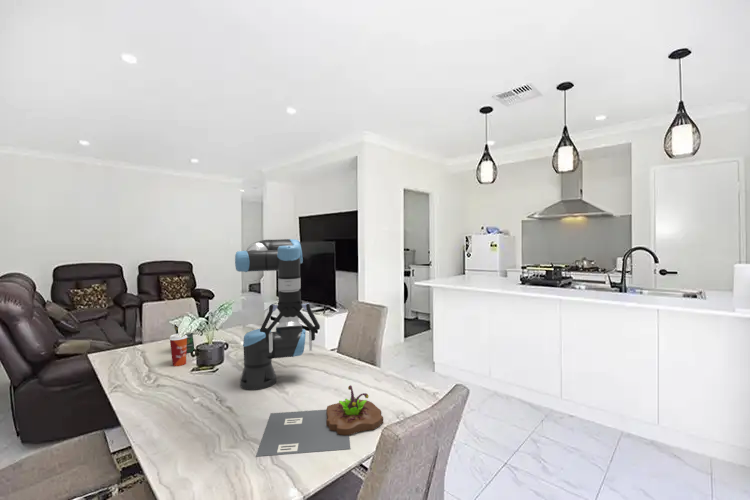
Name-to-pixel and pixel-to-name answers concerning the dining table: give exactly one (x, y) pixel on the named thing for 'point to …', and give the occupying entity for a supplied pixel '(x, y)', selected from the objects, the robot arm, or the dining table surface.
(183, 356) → the coffee cup
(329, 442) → the label mat
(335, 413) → the plant
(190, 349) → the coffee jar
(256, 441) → the dining table surface
